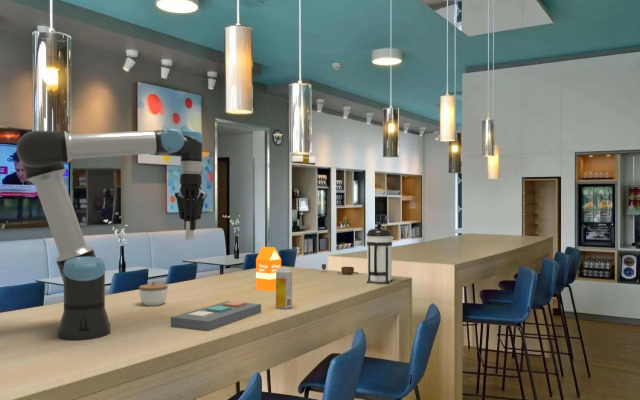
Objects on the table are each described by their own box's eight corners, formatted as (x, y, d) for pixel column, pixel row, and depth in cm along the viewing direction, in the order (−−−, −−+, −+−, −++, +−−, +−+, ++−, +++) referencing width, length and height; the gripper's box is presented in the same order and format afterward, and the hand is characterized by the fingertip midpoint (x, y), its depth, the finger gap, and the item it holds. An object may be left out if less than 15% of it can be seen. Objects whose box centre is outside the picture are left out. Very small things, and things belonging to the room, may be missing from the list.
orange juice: (267, 288, 256) (267, 246, 256) (281, 290, 250) (281, 247, 250) (255, 290, 250) (255, 247, 250) (269, 292, 244) (269, 248, 244)
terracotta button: (237, 313, 194) (237, 305, 194) (223, 312, 197) (223, 303, 197) (246, 310, 200) (246, 302, 200) (232, 309, 202) (232, 301, 202)
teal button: (220, 319, 185) (220, 310, 185) (206, 317, 188) (206, 308, 188) (230, 315, 191) (230, 307, 191) (216, 314, 193) (216, 305, 193)
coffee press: (357, 282, 274) (357, 223, 274) (384, 280, 281) (384, 222, 281) (374, 287, 259) (374, 224, 259) (403, 285, 265) (403, 223, 266)
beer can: (283, 305, 213) (283, 267, 213) (295, 307, 209) (295, 268, 210) (272, 308, 209) (272, 268, 209) (284, 310, 205) (284, 270, 205)
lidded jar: (138, 308, 208) (138, 284, 208) (139, 303, 218) (139, 280, 218) (167, 307, 210) (167, 283, 211) (167, 302, 221) (167, 279, 221)
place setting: (341, 278, 294) (341, 267, 294) (319, 274, 310) (319, 264, 310) (366, 275, 304) (366, 265, 304) (343, 272, 320) (343, 262, 320)
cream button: (202, 325, 176) (202, 315, 176) (187, 323, 179) (187, 314, 179) (213, 321, 182) (213, 312, 182) (199, 319, 184) (199, 310, 184)
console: (208, 330, 172) (208, 321, 172) (170, 326, 178) (170, 317, 178) (261, 312, 201) (261, 304, 201) (227, 308, 207) (227, 301, 207)
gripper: (212, 174, 197) (210, 239, 196) (183, 174, 202) (182, 238, 202) (199, 172, 190) (197, 240, 190) (169, 173, 195) (168, 239, 195)
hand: (189, 239), depth 196 cm, fingers closed
